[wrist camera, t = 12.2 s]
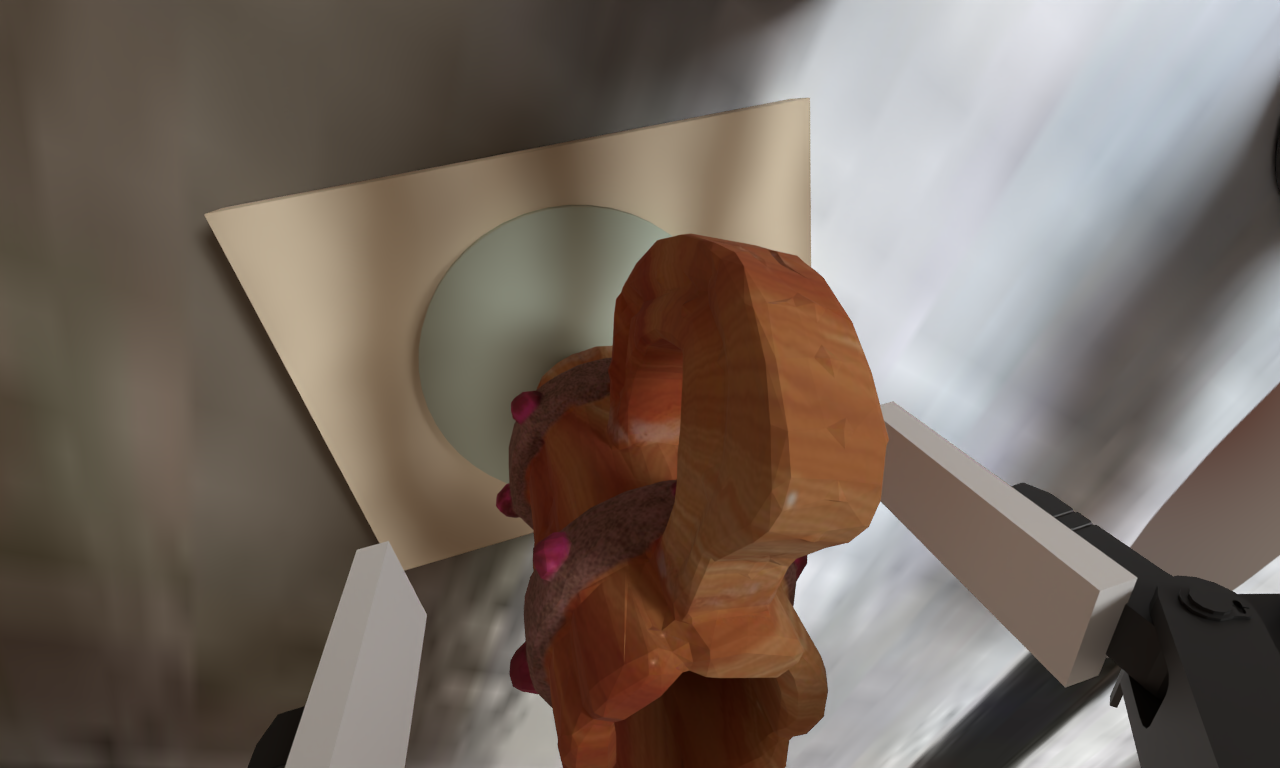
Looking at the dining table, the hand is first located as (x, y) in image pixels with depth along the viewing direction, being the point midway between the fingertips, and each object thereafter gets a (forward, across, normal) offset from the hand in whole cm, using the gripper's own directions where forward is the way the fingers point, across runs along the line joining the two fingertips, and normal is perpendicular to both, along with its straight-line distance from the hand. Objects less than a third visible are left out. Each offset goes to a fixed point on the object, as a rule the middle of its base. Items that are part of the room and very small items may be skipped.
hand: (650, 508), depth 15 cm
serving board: (+12, 0, 0) cm, 12 cm away
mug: (+10, 0, 0) cm, 10 cm away
